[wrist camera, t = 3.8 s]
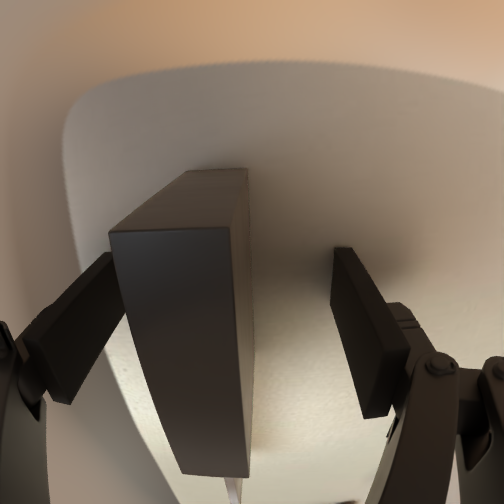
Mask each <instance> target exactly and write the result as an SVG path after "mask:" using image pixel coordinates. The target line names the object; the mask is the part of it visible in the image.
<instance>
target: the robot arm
mask: <svg viewBox="0 0 504 504" xmlns="http://www.w3.org/2000/svg"><path fill="white" fill-rule="evenodd" d="M330 306H331V309H332V312H333V315H334V319H335V322H336V325H337V328H338V331H339V335H340V338H341V341H342V344H343V348H344V351H345V354H346V358H347V361H348V365H349V368H350V372H351V375H352V378H353V382H354V386H355V389H356V393H357V396H358V400H359V404H360V407H361V411H362V415H363V418H364V419H371V418H378V417H385V416H388V413H389V411H390V408H391V405H393V408H394V410H395V413H396V416H395V418H394V420H393V423H392V425H391V427H390V429H389V432H388V434H387V436H386V437H388V440H387V443H386V446H385V449H384V452H383V455H382V458H381V461H380V464H379V467H378V470H377V473H376V476H375V478H374V481H373V484H372V487H371V489H370V492H369V494H368V497H367V499H366V502H365V504H446V499H447V494H448V489H449V484H450V478H451V472H452V466H453V459H454V451H455V455H456V463H457V471H458V481H459V492H460V504H504V357H501V356H494V357H490V358H489V359H487V360H486V361H485V363H484V365H483V368H482V370H481V369H467V368H459V365H458V363H457V362H456V361H455V360H454V359H453V358H452V357H450V356H449V355H447V354H445V353H442V352H437V351H436V350H435V348H434V347H433V345H432V343H431V342H430V340H429V338H428V337H427V335H426V334H425V332H424V330H423V329H422V328H421V327H420V324H419V323H418V321H417V320H416V318H415V316H414V315H413V313H412V312H411V310H410V309H408V308H407V307H406V306H404V305H403V304H401V303H400V302H395V303H386V302H385V300H384V299H383V297H382V295H381V294H380V292H379V290H378V289H377V287H376V285H375V284H374V282H373V280H372V279H371V277H370V275H369V274H368V272H367V270H366V269H365V267H364V266H363V264H362V262H361V261H360V259H359V258H358V256H357V254H356V253H355V251H354V250H353V248H335V250H334V264H333V277H332V289H331V299H330ZM124 314H125V308H124V304H123V300H122V296H121V292H120V287H119V283H118V279H117V274H116V270H115V265H114V260H113V255H112V252H104V253H103V254H102V255H101V256H100V257H99V258H98V259H97V260H96V261H95V262H94V263H93V264H92V265H91V266H89V267H88V268H87V269H86V270H85V271H84V272H83V273H82V274H81V275H80V276H79V277H78V278H77V279H76V280H75V282H73V283H72V284H71V285H70V286H69V288H68V289H66V290H65V292H64V293H63V294H62V295H61V296H60V297H59V298H58V299H57V300H56V301H55V302H54V303H53V304H51V305H49V306H48V307H46V308H45V309H43V310H42V311H41V312H40V313H39V315H38V316H37V317H36V318H35V319H34V320H33V321H32V322H31V324H29V325H28V327H27V328H26V329H25V330H24V331H23V332H22V333H21V334H20V335H19V336H18V338H17V339H16V340H15V341H14V340H13V338H12V335H11V333H10V331H9V329H8V326H7V324H6V323H5V322H3V321H0V504H50V497H49V487H48V474H47V455H46V402H45V400H44V398H43V394H44V393H45V391H46V389H47V390H48V392H49V394H50V396H51V398H52V399H53V401H55V402H59V403H63V404H67V405H71V403H72V401H73V400H74V397H75V396H76V394H77V392H78V391H79V389H80V387H81V385H82V384H83V382H84V380H85V378H86V377H87V375H88V373H89V371H90V370H91V368H92V366H93V365H94V363H95V361H96V359H97V358H98V356H99V354H100V353H101V351H102V349H103V348H104V346H105V345H106V343H107V341H108V340H109V338H110V336H111V335H112V333H113V331H114V330H115V328H116V327H117V325H118V323H119V322H120V320H121V319H122V317H123V315H124Z"/></svg>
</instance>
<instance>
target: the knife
mask: <svg viewBox="0 0 504 504" xmlns="http://www.w3.org/2000/svg"><path fill="white" fill-rule="evenodd" d="M108 235H109V240H110V245H111V250H112V255H113V260H114V265H115V270H116V274H117V279H118V283H119V287H120V292H121V296H122V300H123V304H124V308H125V312H126V315H127V319H128V323H129V327H130V330H131V334H132V337H133V341H134V344H135V348H136V351H137V354H138V358H139V361H140V364H141V367H142V370H143V373H144V376H145V379H146V382H147V385H148V388H149V391H150V394H151V397H152V400H153V403H154V405H155V408H156V411H157V414H158V416H159V419H160V422H161V424H162V427H163V429H164V432H165V434H166V437H167V439H168V442H169V444H170V447H171V449H172V451H173V454H174V456H175V459H176V461H177V463H178V465H179V468H180V470H181V472H182V474H188V475H198V476H210V477H224V479H225V483H226V487H227V491H228V495H229V499H230V503H231V504H241V495H242V478H249V475H250V454H251V431H252V408H253V384H254V360H255V349H254V323H253V296H252V270H251V243H250V215H249V188H248V169H247V168H239V169H215V170H197V171H186V172H185V173H183V174H182V175H181V176H179V177H178V178H177V179H175V180H174V181H173V182H171V183H170V184H168V185H167V186H166V187H164V188H163V189H162V190H160V191H159V192H158V193H156V194H155V195H154V196H153V197H151V198H150V199H149V200H147V201H146V202H145V203H143V204H142V205H141V206H140V207H138V208H137V209H136V210H135V211H133V212H132V213H131V214H129V215H128V216H127V217H126V218H125V219H123V220H122V221H121V222H120V223H118V224H117V225H116V226H115V227H113V228H112V229H111V230H110V231H109V233H108Z"/></svg>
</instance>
